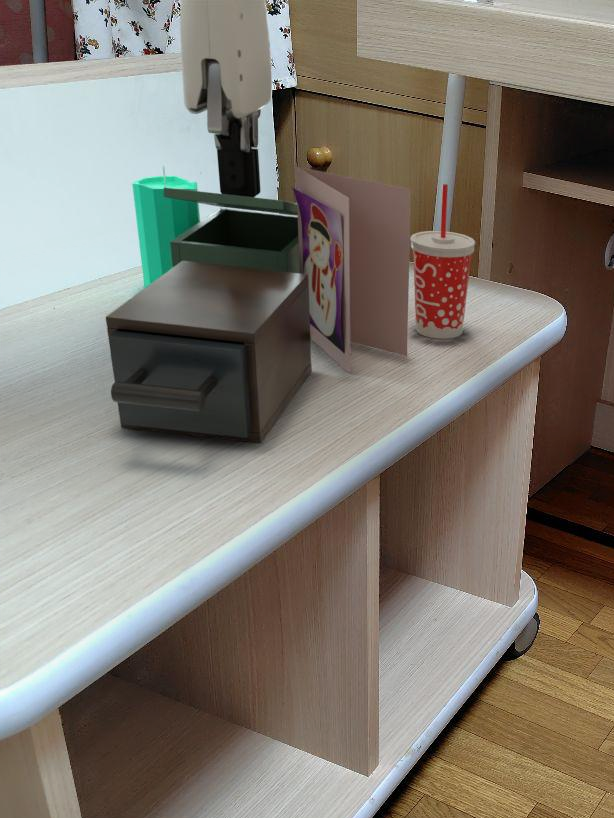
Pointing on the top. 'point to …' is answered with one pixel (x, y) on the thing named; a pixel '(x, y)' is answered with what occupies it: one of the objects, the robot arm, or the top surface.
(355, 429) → the top surface
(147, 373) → the drawer
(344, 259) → the greeting card
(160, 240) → the candle
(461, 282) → the beverage cup
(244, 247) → the chest
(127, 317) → the cabinet
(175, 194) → the chest lid
